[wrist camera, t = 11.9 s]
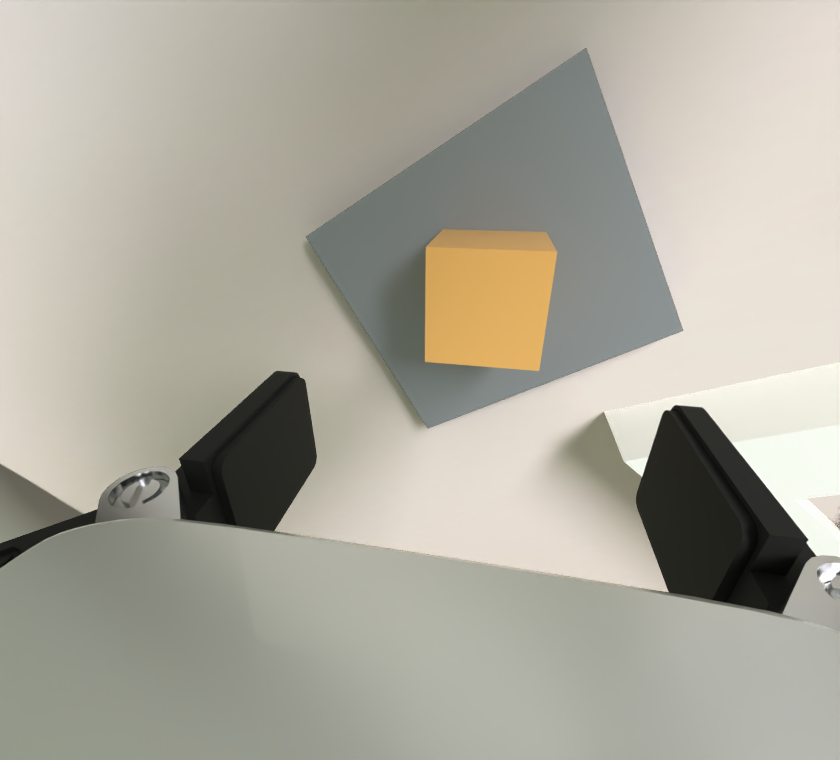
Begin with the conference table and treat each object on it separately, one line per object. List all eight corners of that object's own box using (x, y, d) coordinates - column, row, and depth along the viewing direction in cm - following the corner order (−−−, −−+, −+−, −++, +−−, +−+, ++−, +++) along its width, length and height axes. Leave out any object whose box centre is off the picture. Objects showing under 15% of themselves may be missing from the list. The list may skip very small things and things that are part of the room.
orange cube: (442, 229, 25) (425, 247, 19) (546, 232, 24) (557, 251, 19) (440, 323, 28) (424, 361, 22) (532, 330, 27) (539, 371, 21)
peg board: (315, 233, 28) (275, 248, 23) (581, 54, 21) (603, 23, 16) (430, 417, 33) (418, 461, 28) (674, 322, 26) (711, 358, 21)
